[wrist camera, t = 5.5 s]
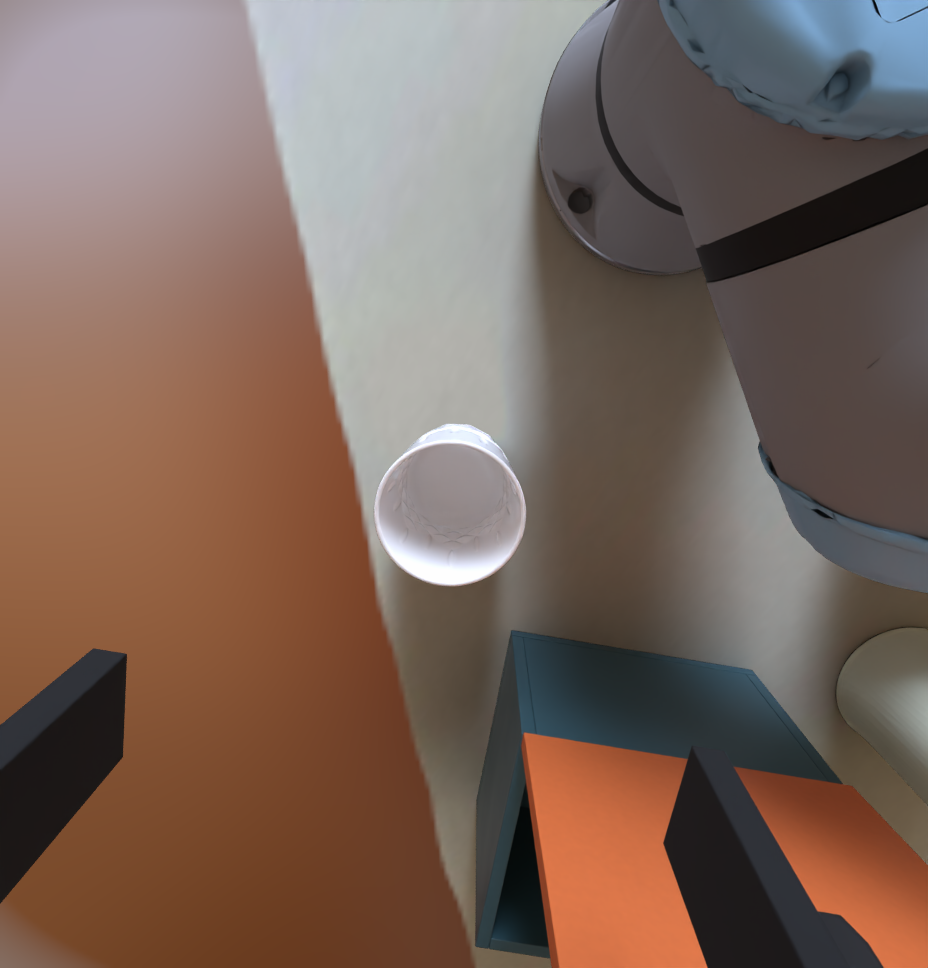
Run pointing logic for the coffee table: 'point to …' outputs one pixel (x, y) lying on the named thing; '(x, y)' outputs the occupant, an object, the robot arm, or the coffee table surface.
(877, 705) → the can
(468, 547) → the white cup
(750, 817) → the robot arm
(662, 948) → the lid
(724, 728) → the container
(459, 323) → the coffee table surface
